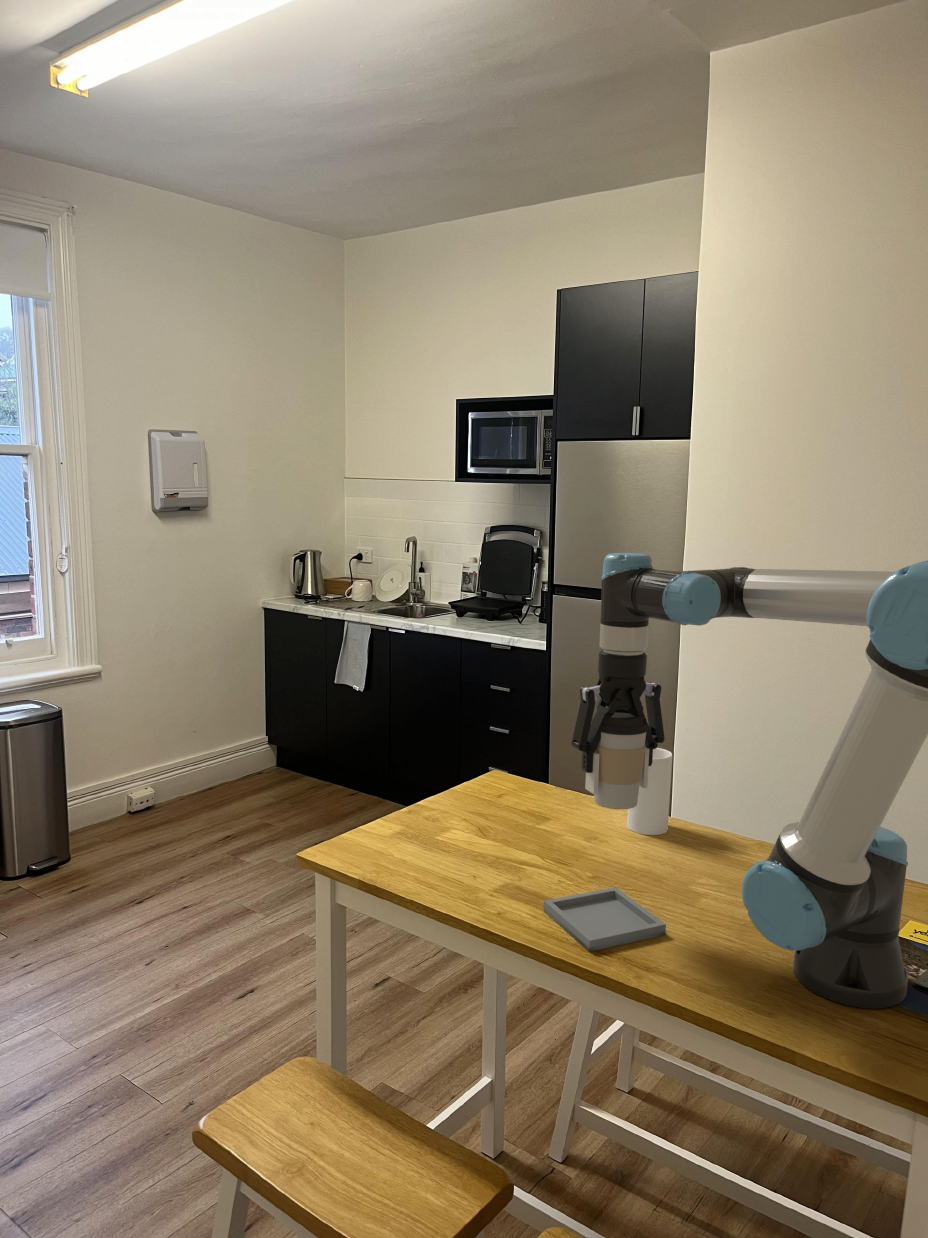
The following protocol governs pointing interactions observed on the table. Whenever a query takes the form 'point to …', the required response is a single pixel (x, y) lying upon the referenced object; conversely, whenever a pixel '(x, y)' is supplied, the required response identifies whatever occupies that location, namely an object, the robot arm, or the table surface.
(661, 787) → the cup
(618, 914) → the tray
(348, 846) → the table surface
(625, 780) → the coffee cup
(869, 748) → the robot arm
